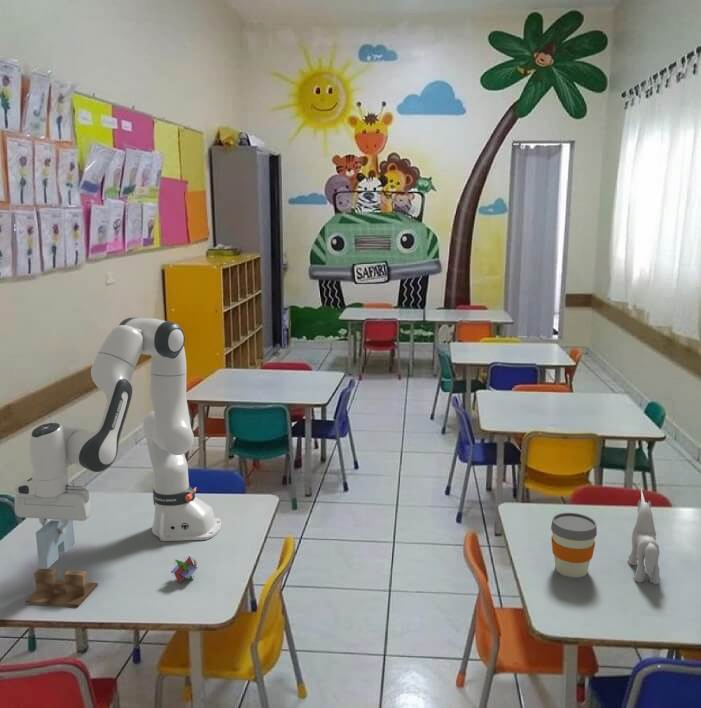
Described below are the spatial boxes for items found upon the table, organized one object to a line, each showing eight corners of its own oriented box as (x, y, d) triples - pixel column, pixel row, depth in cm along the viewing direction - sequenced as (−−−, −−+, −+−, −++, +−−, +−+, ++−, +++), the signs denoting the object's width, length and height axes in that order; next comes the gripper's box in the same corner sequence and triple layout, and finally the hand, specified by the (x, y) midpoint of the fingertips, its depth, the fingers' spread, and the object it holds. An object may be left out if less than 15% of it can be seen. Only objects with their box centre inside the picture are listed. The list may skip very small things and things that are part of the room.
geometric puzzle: (179, 584, 195) (191, 556, 197) (162, 578, 198) (173, 550, 201) (195, 589, 200) (206, 561, 203) (177, 582, 204) (188, 555, 207)
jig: (97, 585, 199) (95, 563, 197) (78, 607, 188) (76, 584, 187) (47, 582, 201) (45, 560, 199) (25, 603, 190) (23, 580, 189)
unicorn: (649, 548, 217) (654, 488, 212) (664, 592, 193) (670, 524, 189) (623, 546, 218) (627, 485, 214) (635, 588, 195) (640, 521, 190)
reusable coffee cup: (540, 568, 206) (542, 520, 203) (564, 554, 214) (567, 508, 210) (578, 585, 196) (581, 536, 193) (602, 570, 204) (606, 522, 201)
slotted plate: (66, 543, 199) (63, 509, 197) (74, 543, 198) (71, 510, 196) (39, 567, 185) (35, 532, 183) (47, 568, 185) (44, 533, 183)
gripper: (93, 482, 189) (97, 529, 192) (22, 478, 192) (27, 525, 195) (82, 491, 183) (86, 540, 186) (8, 487, 186) (13, 535, 189)
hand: (55, 532), depth 190 cm, fingers closed on slotted plate, 2 cm apart
